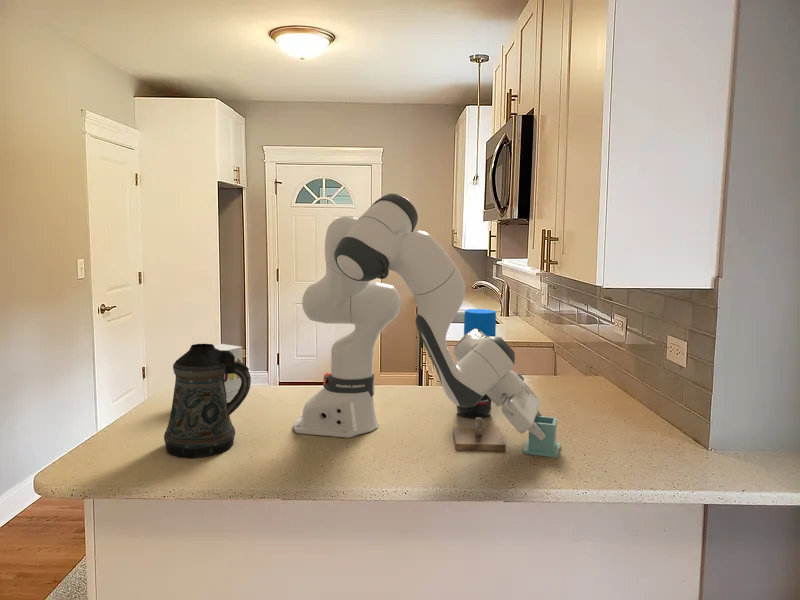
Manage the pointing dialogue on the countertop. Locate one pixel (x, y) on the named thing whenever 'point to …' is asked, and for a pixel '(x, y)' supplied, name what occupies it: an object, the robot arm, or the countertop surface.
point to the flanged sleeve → (548, 443)
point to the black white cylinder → (485, 403)
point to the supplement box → (231, 380)
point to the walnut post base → (478, 438)
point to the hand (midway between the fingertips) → (545, 432)
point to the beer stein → (204, 402)
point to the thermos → (480, 321)
